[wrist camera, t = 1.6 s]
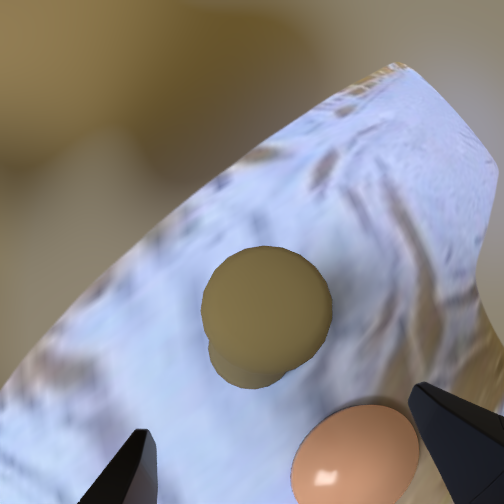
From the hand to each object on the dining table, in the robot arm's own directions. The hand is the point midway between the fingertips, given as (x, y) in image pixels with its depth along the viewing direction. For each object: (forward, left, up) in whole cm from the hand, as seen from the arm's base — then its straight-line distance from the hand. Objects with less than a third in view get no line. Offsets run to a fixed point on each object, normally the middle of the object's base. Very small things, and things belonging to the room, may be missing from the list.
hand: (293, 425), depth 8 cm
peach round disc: (-9, 0, -11) cm, 14 cm away
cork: (+3, -3, -11) cm, 12 cm away
